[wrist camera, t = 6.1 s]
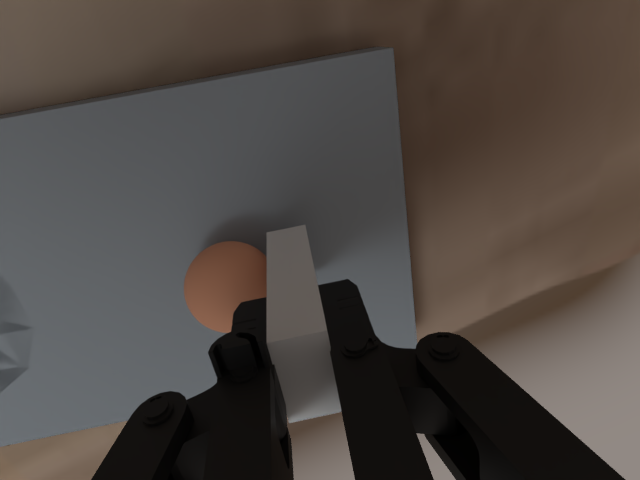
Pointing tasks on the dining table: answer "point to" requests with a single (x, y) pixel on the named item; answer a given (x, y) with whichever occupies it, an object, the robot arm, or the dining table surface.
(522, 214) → the dining table surface
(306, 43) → the dining table surface
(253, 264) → the ball
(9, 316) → the plate
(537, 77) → the dining table surface
